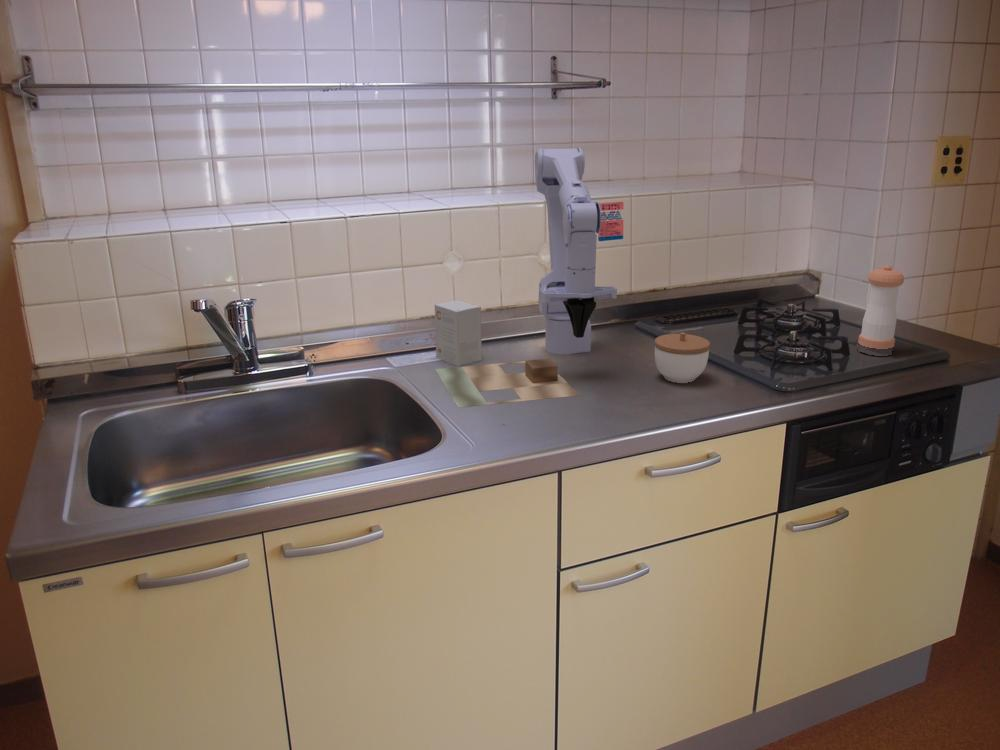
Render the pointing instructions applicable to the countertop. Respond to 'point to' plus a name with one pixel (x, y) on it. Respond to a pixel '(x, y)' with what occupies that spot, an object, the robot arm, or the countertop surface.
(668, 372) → the lidded jar
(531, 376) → the block
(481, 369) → the board
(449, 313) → the small box
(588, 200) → the robot arm
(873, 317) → the pepper shaker
